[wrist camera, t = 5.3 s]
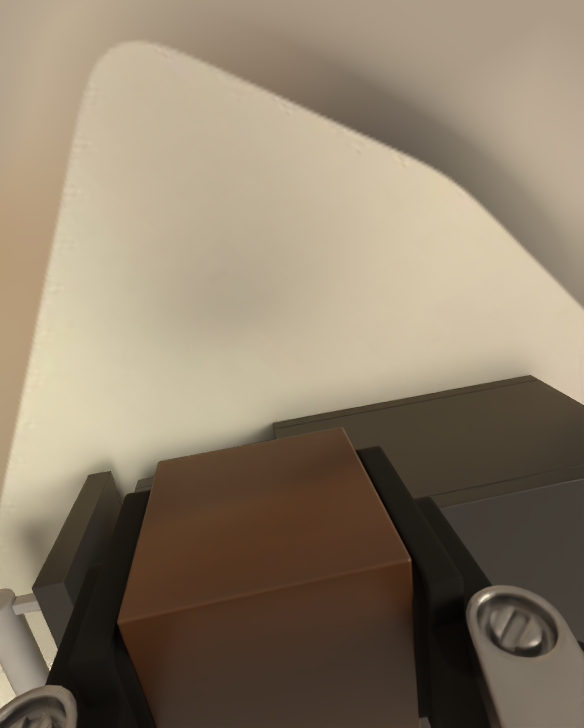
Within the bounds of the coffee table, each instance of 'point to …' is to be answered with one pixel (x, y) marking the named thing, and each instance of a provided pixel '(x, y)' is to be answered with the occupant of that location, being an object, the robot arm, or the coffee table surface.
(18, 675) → the pulled-out drawer
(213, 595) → the block
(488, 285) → the coffee table surface
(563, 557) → the small drawer cabinet
